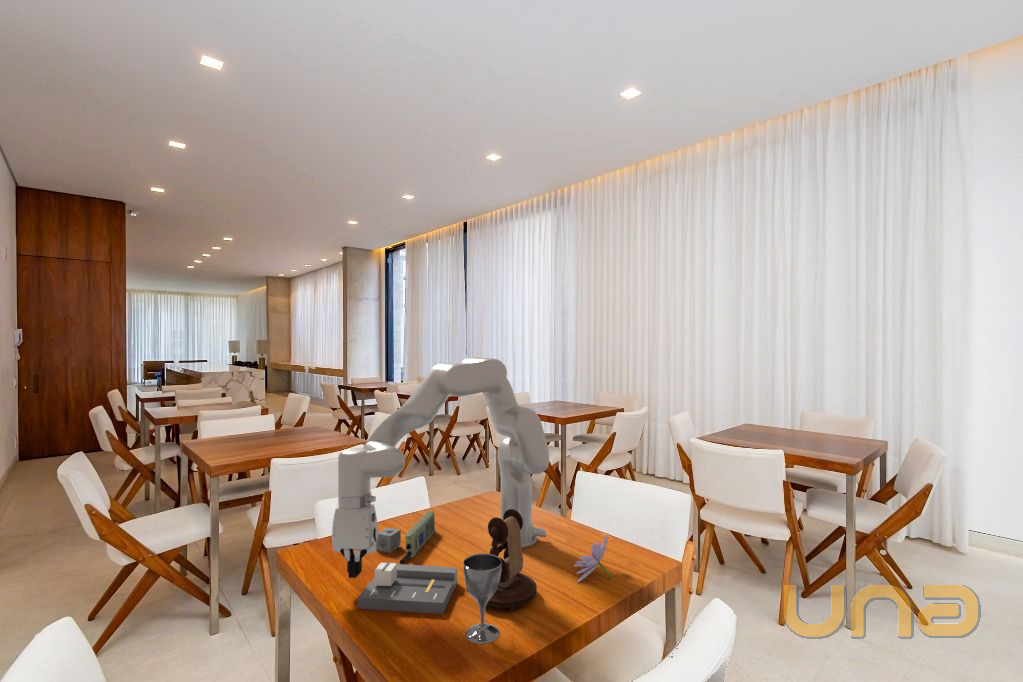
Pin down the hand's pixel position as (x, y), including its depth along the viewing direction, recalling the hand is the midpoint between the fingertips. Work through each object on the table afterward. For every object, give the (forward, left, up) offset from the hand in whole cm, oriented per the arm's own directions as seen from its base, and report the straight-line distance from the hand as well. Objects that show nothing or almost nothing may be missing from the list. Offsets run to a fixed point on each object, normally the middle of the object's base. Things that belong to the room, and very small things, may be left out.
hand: (354, 575), depth 119 cm
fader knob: (-8, 0, -1) cm, 8 cm away
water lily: (-58, -16, -4) cm, 60 cm away
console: (-14, 0, -4) cm, 14 cm away
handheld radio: (-7, -27, -4) cm, 28 cm away
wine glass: (-34, +13, -4) cm, 37 cm away
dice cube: (+1, -25, -4) cm, 25 cm away
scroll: (-37, -2, -4) cm, 37 cm away
